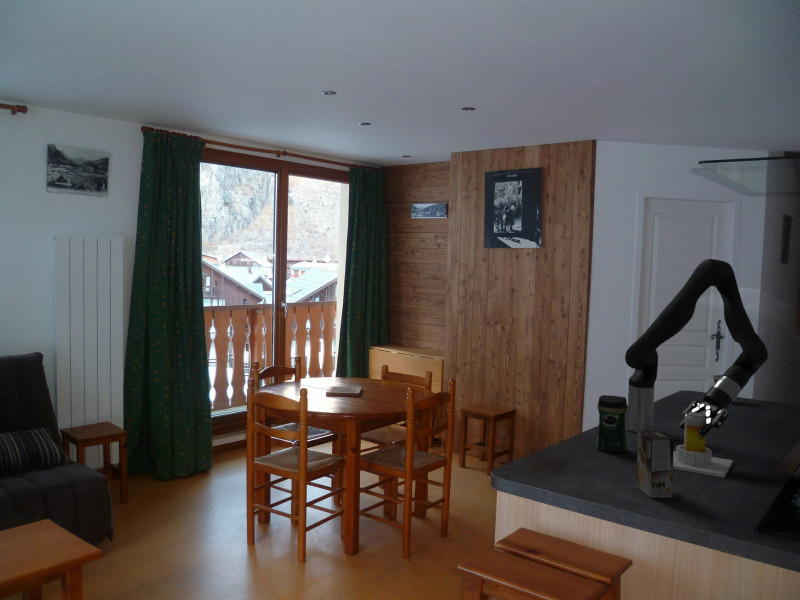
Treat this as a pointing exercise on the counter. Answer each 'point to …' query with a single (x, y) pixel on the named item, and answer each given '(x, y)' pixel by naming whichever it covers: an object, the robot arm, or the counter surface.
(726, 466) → the base
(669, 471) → the coffee box
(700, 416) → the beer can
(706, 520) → the counter surface
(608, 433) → the coffee jar
